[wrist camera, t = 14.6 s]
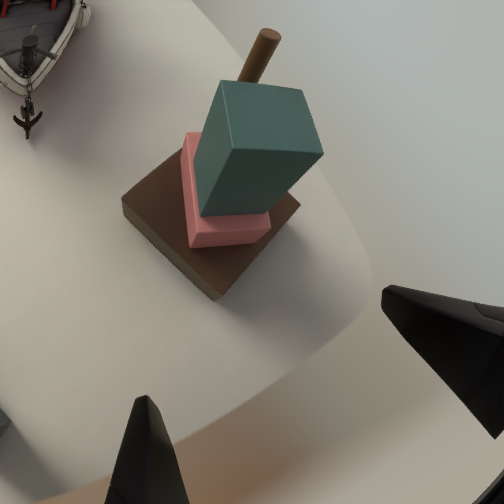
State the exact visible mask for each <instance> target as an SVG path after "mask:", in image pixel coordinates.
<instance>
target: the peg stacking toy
mask: <svg viewBox="0 0 504 504" xmlns="http://www.w3.org/2000/svg"><path fill="white" fill-rule="evenodd" d="M280 40H281V35H280V34H279V33H278V32H277V31H274V30H272V29H269V28H264V29H262V30H260V32H259V34H258V36H257V39H256V41H255V43H254V45H253V47H252V49H251V51H250V53H249V56H248V58H247V60H246V62H245V64H244V66H243V69H242V71H241V73H240V75H239V78H238V80H237V81H228V80H221V81H220V83H219V86H218V88H217V91H216V94H215V97H214V99H213V102H212V105H211V108H210V111H209V114H208V116H207V119H206V122H205V125H204V128H203V131H202V133H196V132H188V133H186V136H185V140H184V144H183V148H182V153H181V157H180V161H181V173H182V184H183V194H184V204H185V213H186V222H187V231H188V239H189V247H190V248H191V249H192V248H203V247H215V246H227V245H239V244H251V243H255V242H256V241H257V240H259V239H260V238H261V237H262V236H263V235H264V234H265V233H267V232H268V231H269V230H270V229H271V224H270V219H269V214H268V210H269V209H270V208H271V207H272V206H273V205H274V204H275V203H276V202H277V201H278V200H279V199H280V198H281V197H282V196H283V195H284V194H285V193H286V192H287V191H288V190H289V189H290V188H291V187H292V186H293V185H294V184H295V183H296V182H297V181H298V180H299V179H300V178H301V177H302V176H303V175H304V174H305V173H306V172H307V171H308V170H309V169H310V168H311V167H312V166H313V165H314V164H315V163H316V162H317V161H318V160H319V159H320V158H321V157H322V156H323V154H324V152H323V149H322V146H321V143H320V140H319V137H318V134H317V131H316V128H315V125H314V122H313V119H312V116H311V113H310V111H309V108H308V105H307V102H306V100H305V97H304V94H303V91H302V90H298V89H293V88H287V87H280V86H273V85H266V84H258V81H259V79H260V77H261V75H262V73H263V72H264V70H265V68H266V66H267V64H268V62H269V60H270V59H271V57H272V55H273V53H274V51H275V49H276V48H277V46H278V44H279V42H280Z"/></svg>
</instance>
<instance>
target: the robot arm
mask: <svg viewBox="0 0 504 504" xmlns="http://www.w3.org/2000/svg"><path fill="white" fill-rule="evenodd" d="M381 307H382V310H383V312H384V313H385V314H386V316H387V317H388V318H389V319H390V321H391V322H392V323H393V325H394V326H395V327H396V329H397V330H398V331H399V332H400V334H401V335H402V336H403V338H404V339H405V340H406V341H407V342H408V343H409V344H410V345H411V346H412V347H413V348H414V349H415V351H416V352H417V353H418V354H419V355H420V356H421V357H422V358H423V359H424V360H425V361H426V362H427V363H428V364H429V365H430V367H431V368H432V369H433V370H434V371H435V372H436V373H437V374H438V375H439V376H440V378H441V379H442V380H443V381H444V382H445V383H446V384H447V385H448V386H449V387H450V389H451V390H452V391H453V392H454V393H455V394H456V395H457V396H458V398H459V399H460V400H461V401H462V402H463V403H464V404H465V406H467V408H468V409H469V410H470V412H471V413H472V414H473V415H474V416H475V417H476V418H477V420H478V421H479V422H480V423H481V424H482V425H483V427H484V428H485V429H486V430H487V431H488V433H489V434H490V435H491V436H492V437H493V438H494V439H496V438H497V437H498V436H499V435H500V434H501V433H502V431H503V430H504V307H498V306H491V305H486V304H480V303H475V302H473V303H472V302H471V301H466V300H462V299H457V298H452V297H447V296H443V295H438V294H433V293H429V292H424V291H419V290H415V289H410V288H405V287H400V286H396V285H389V286H388V287H386V288H384V289H383V290H382V300H381ZM110 485H111V486H109V489H108V493H107V497H106V500H105V503H104V504H190V503H189V500H188V497H187V494H186V490H185V487H184V484H183V480H182V477H181V473H180V470H179V466H178V462H177V459H176V455H175V452H174V449H173V446H172V443H171V441H170V438H169V435H168V433H167V430H166V427H165V425H164V422H163V419H162V416H161V413H160V411H159V409H158V408H157V406H156V405H155V404H154V402H153V401H152V400H151V399H150V397H149V396H148V395H144V396H141V397H138V398H136V399H135V402H134V405H133V408H132V411H131V414H130V417H129V420H128V424H127V427H126V430H125V433H124V437H123V440H122V443H121V447H120V450H119V453H118V457H117V460H116V464H115V467H114V471H113V475H112V479H111V482H110ZM472 504H504V470H503V471H502V472H501V473H500V474H499V476H498V477H497V478H496V479H495V480H494V481H493V482H492V484H491V485H490V486H489V487H488V488H487V489H486V490H485V491H484V492H483V493H482V494H481V495H480V496H479V498H477V500H476V501H474V502H473V503H472Z"/></svg>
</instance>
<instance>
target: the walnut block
mask: <svg viewBox="0 0 504 504" xmlns="http://www.w3.org/2000/svg"><path fill="white" fill-rule="evenodd" d="M181 153H182V148H181V149H180V150H179V151H177V152H176V153H175V154H173V155H172V156H171V157H170V158H168V159H167V160H166V161H164V162H163V163H162V164H161V165H159V166H158V167H157V168H156V169H154V170H153V171H152V172H151V173H149V174H148V175H147V176H146V177H145V178H143V179H142V180H141V181H140V182H139V183H137V184H136V185H135V186H134V187H133V188H131V189H130V190H129V191H128V192H127V193H126V194H125V195H123V196H122V197H121V200H122V207H123V213H124V216H125V217H126V218H127V219H128V220H129V221H130V222H131V223H132V224H133V225H134V226H135V227H136V228H137V229H138V230H139V231H140V232H141V233H142V234H143V235H144V236H145V237H146V238H147V239H148V240H149V241H150V242H151V243H152V244H153V245H154V246H155V247H156V248H157V249H158V250H159V251H160V252H161V253H162V254H163V255H164V256H165V257H166V258H168V259H169V260H170V261H171V262H172V263H173V264H174V265H175V266H176V267H177V268H178V269H179V270H180V271H181V272H182V273H183V274H184V275H185V276H186V277H187V278H189V279H190V280H191V281H192V282H193V283H194V284H195V285H196V286H197V287H198V288H199V289H200V290H201V291H203V292H204V293H205V294H206V295H207V296H208V297H209V298H210V299H211V300H215V299H217V298H219V297H220V296H222V295H224V293H225V292H226V291H227V290H228V289H229V288H230V287H231V285H232V284H233V283H234V282H235V281H236V280H237V279H238V277H239V276H240V275H241V274H242V273H243V272H244V270H245V269H246V268H247V267H248V266H249V265H250V264H251V262H252V261H253V260H254V259H255V258H256V257H257V255H258V254H259V253H260V252H261V251H262V250H263V249H264V247H265V246H266V245H267V244H268V243H269V242H270V240H271V239H272V238H273V237H274V236H275V235H276V233H277V232H278V231H279V230H280V229H281V228H282V227H283V225H284V224H285V223H286V222H287V221H288V220H289V218H290V217H291V216H292V215H293V214H294V213H295V211H296V210H297V209H298V208H299V207H300V206H301V204H300V203H299V202H298V201H297V200H296V199H295V198H294V197H293V196H292V195H291V194H289V193H288V192H286V193H285V194H284V195H283V196H282V197H281V198H280V199H279V200H278V201H277V202H276V203H275V204H274V205H273V206H272V207H271V208H270V209H269V210H268V214H269V219H270V224H271V229H270V230H269V231H268V232H267V233H265V234H264V235H263V236H262V237H261V238H260V239H259V240H257V241H256V242H255V243H251V244H239V245H227V246H215V247H203V248H192V249H191V248H190V247H189V239H188V231H187V222H186V213H185V204H184V194H183V184H182V173H181V161H180V157H181Z"/></svg>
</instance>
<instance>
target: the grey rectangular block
mask: <svg viewBox="0 0 504 504" xmlns="http://www.w3.org/2000/svg"><path fill="white" fill-rule="evenodd" d="M10 422H11V420H10V419H9V418H8V417H7V416H6V415H5V414H4V413H3V411H2V410H1V409H0V436H1V435H2V433H3V432H4V431H5V429H6V428H7V427H8V425H9V424H10Z"/></svg>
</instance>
